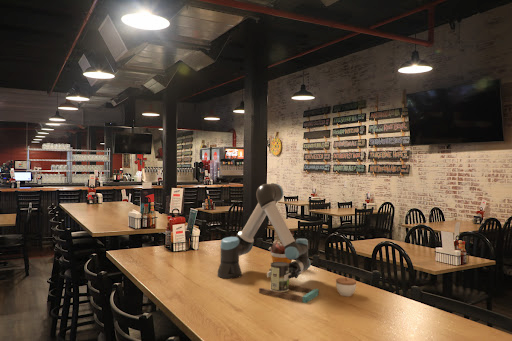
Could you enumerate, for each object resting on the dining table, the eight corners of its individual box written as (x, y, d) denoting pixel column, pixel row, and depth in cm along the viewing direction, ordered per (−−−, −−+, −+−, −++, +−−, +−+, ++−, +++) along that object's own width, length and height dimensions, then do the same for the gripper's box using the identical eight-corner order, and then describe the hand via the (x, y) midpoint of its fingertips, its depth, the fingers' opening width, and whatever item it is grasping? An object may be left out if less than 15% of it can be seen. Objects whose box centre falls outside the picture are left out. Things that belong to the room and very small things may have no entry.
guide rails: (259, 293, 214) (259, 288, 214) (273, 285, 227) (273, 281, 227) (306, 303, 199) (306, 298, 199) (318, 294, 212) (318, 290, 212)
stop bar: (302, 302, 200) (302, 296, 200) (315, 294, 214) (315, 288, 213) (306, 303, 199) (306, 297, 199) (318, 294, 212) (318, 289, 212)
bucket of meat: (264, 265, 274) (264, 237, 274) (280, 262, 285) (281, 234, 285) (284, 271, 259) (285, 241, 259) (301, 267, 270) (301, 238, 270)
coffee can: (290, 287, 220) (290, 262, 220) (287, 292, 210) (288, 266, 210) (271, 285, 222) (272, 261, 222) (268, 291, 212) (269, 265, 212)
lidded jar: (341, 298, 207) (341, 280, 207) (332, 292, 217) (332, 275, 217) (359, 296, 210) (360, 279, 210) (349, 290, 220) (350, 274, 220)
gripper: (312, 277, 225) (294, 287, 207) (277, 271, 237) (258, 280, 219) (312, 264, 225) (294, 272, 207) (278, 259, 237) (258, 266, 219)
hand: (276, 276), depth 213 cm, fingers closed on coffee can, 10 cm apart
